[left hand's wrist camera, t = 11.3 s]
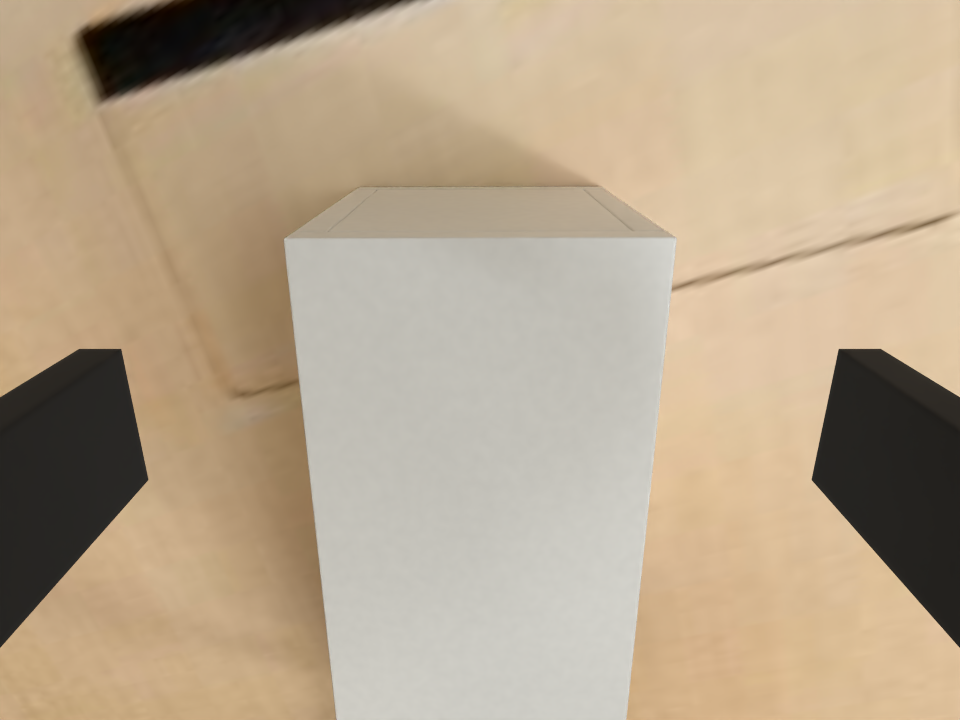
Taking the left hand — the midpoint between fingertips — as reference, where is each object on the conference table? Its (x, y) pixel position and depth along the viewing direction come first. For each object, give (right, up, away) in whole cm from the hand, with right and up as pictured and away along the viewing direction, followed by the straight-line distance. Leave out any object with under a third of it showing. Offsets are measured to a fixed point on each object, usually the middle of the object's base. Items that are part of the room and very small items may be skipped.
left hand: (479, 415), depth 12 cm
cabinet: (0, -1, +17) cm, 17 cm away
